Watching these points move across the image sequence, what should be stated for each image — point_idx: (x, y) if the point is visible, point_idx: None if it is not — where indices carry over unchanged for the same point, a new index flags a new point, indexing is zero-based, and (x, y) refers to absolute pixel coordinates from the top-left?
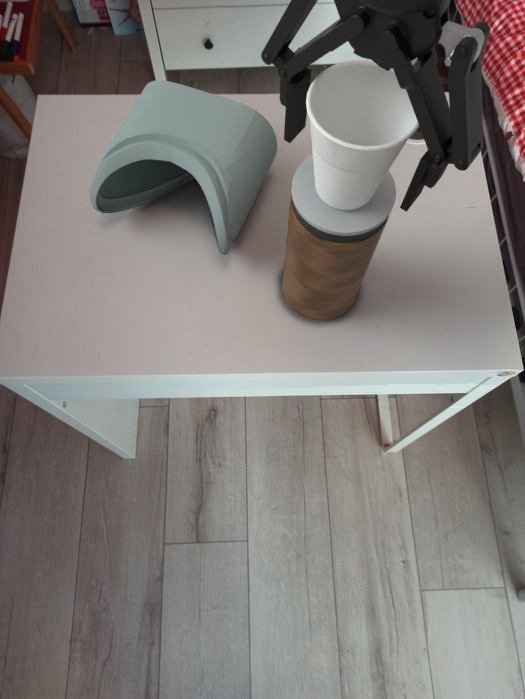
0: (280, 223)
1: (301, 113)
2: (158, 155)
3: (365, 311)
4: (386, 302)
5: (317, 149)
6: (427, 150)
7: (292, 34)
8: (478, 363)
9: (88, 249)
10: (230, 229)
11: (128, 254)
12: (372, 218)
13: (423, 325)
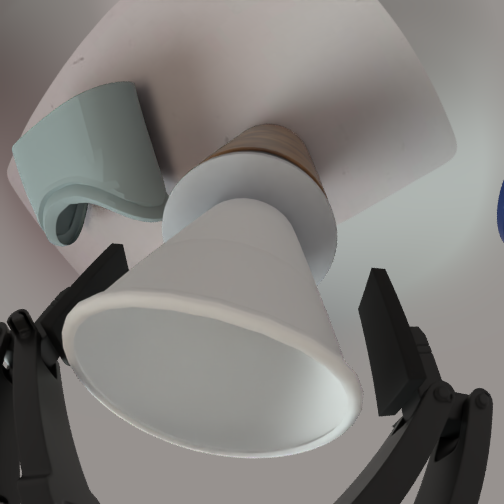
0: (188, 124)
1: (104, 286)
2: (60, 208)
3: (326, 164)
4: (340, 144)
5: (188, 384)
6: (390, 404)
7: (9, 405)
8: (436, 165)
9: (96, 247)
10: (156, 204)
11: (115, 235)
12: (315, 269)
13: (383, 150)
